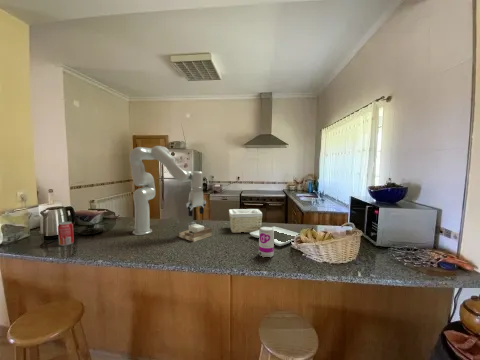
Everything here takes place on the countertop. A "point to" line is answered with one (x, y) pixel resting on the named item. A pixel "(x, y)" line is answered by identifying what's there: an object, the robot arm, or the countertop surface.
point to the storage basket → (245, 220)
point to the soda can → (65, 233)
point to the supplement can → (266, 242)
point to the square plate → (280, 230)
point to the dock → (196, 234)
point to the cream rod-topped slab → (195, 227)
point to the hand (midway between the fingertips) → (196, 214)
